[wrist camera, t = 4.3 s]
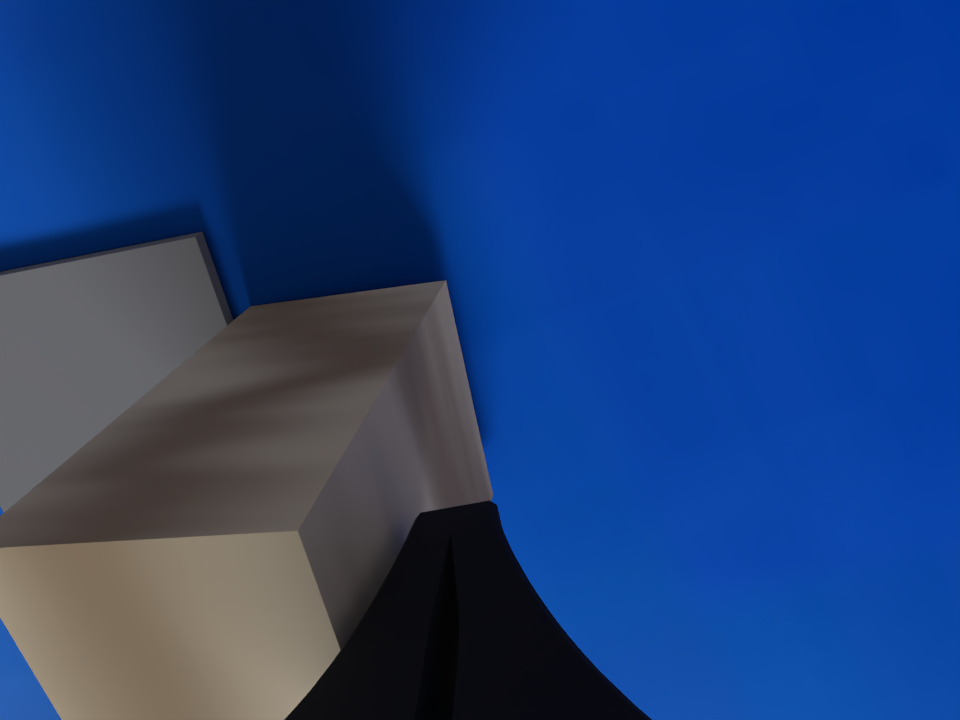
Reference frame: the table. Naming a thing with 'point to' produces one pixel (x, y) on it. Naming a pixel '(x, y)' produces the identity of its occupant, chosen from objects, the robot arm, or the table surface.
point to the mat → (94, 345)
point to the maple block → (243, 511)
